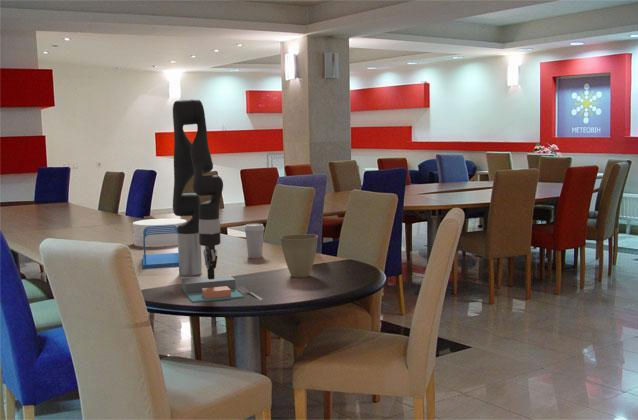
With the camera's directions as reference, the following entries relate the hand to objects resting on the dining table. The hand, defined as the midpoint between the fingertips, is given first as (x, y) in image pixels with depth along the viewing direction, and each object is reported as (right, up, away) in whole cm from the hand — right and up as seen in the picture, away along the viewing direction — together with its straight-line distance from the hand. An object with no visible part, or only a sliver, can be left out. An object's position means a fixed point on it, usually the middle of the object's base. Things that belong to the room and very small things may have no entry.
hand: (211, 279), depth 250 cm
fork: (+16, -6, -4) cm, 17 cm away
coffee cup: (+9, +3, +74) cm, 74 cm away
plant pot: (+31, -2, +29) cm, 42 cm away
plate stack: (-46, +7, +120) cm, 129 cm away
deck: (-2, -5, +6) cm, 8 cm away
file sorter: (-32, +1, +63) cm, 71 cm away
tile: (+3, -4, -6) cm, 8 cm away
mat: (+2, -6, -5) cm, 8 cm away
